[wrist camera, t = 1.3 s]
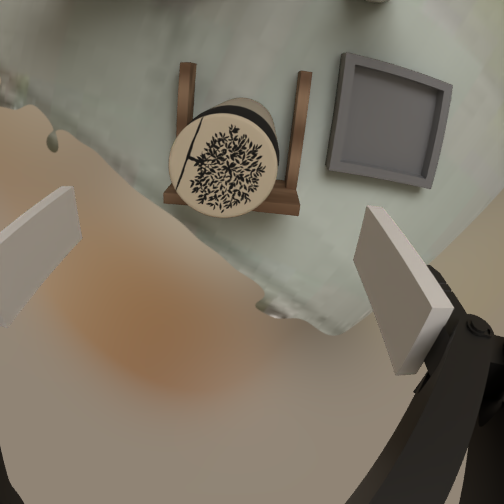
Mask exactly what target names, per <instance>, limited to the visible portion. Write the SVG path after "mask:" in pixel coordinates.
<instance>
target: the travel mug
mask: <svg viewBox="0 0 504 504" xmlns="http://www.w3.org/2000/svg"><path fill="white" fill-rule="evenodd" d="M278 165H279V148H278V142H277V137H276V132H275V127H274V122H273V119H272V117H271V115H270V113H269V112H268V110H267V109H266V108H265V107H264V106H263V105H261V104H260V103H258V102H256V101H254V100H252V99H247V98H235V99H231V100H228V101H226V102H224V103H221V104H219V105H217V106H215V107H213V108H211V109H209V110H207V111H205V112H203V113H201V114H199V115H198V116H197V117H195V118H194V119H193V120H192V121H191V122H190V123H189V124H188V125H187V126H186V127H185V128H184V129H183V130H182V131H181V132H180V134H179V135H178V136H177V138H176V139H175V141H174V143H173V145H172V148H171V151H170V156H169V174H170V178H171V181H172V184H173V186H174V188H175V190H176V192H177V193H178V195H179V196H180V197H181V199H182V200H183V201H184V202H185V203H186V204H188V205H189V206H190V207H191V208H193V209H194V210H196V211H198V212H200V213H202V214H205V215H208V216H212V217H218V218H230V217H236V216H240V215H243V214H246V213H248V212H250V211H252V210H253V209H255V208H257V207H258V206H259V205H260V204H261V203H262V202H263V201H264V200H265V199H266V198H267V197H268V195H269V194H270V192H271V190H272V189H273V186H274V184H275V181H276V177H277V169H278Z"/></svg>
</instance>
